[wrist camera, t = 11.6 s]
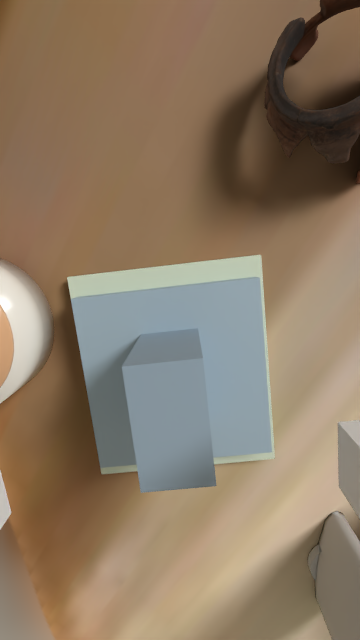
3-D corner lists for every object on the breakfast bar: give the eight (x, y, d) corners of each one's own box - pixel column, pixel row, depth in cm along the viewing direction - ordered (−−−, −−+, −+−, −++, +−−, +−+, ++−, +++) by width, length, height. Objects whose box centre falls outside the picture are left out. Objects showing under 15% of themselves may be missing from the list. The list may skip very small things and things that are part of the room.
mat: (71, 276, 25) (67, 277, 24) (258, 254, 24) (261, 254, 23) (104, 466, 28) (101, 474, 27) (271, 451, 27) (274, 458, 26)
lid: (77, 296, 24) (20, 316, 16) (255, 276, 23) (293, 286, 15) (105, 456, 26) (67, 547, 18) (267, 441, 26) (305, 528, 18)
